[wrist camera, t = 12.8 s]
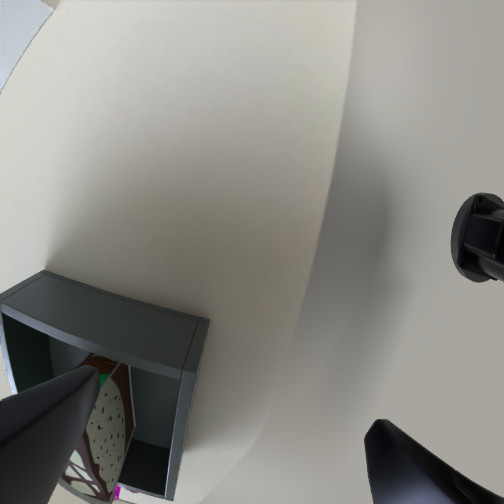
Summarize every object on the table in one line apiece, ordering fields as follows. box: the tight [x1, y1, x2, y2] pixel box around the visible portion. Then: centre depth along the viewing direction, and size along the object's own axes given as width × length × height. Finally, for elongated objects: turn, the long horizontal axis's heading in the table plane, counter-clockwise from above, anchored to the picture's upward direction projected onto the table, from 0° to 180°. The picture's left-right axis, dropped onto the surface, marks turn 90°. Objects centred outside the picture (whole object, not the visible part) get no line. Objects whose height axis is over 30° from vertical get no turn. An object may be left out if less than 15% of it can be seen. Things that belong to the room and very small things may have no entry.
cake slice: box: [58, 353, 136, 504], centre depth 17 cm, size 12×6×10 cm, turn 171°
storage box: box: [0, 270, 210, 501], centre depth 19 cm, size 15×17×7 cm
